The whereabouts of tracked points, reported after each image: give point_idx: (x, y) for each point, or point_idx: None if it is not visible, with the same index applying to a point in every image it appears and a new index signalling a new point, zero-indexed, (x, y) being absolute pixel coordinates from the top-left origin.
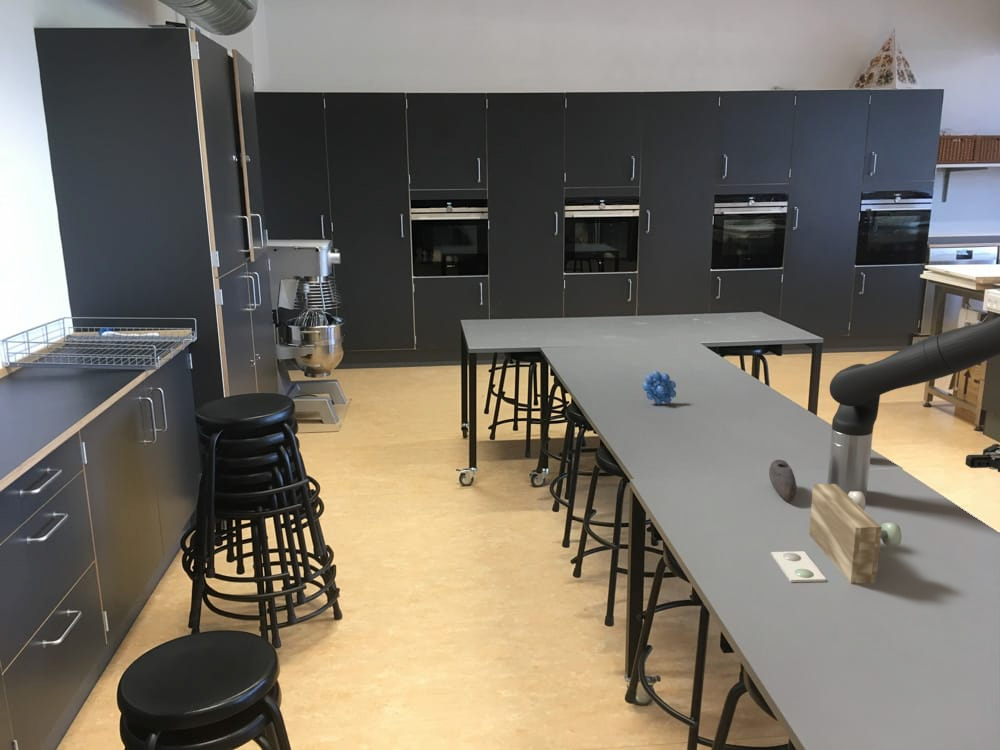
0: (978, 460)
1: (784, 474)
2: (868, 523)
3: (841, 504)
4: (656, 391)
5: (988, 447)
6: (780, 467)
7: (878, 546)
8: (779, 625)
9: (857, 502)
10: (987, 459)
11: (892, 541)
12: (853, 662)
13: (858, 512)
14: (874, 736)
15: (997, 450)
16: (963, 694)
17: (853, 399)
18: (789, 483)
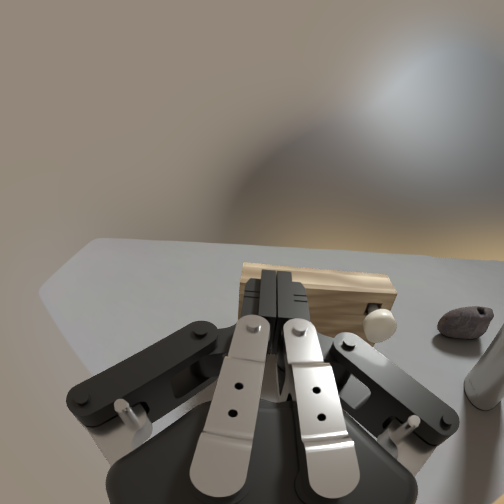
0: (245, 283)
1: (463, 308)
2: (254, 275)
3: (321, 275)
4: None
5: (396, 368)
6: (475, 307)
7: (239, 306)
8: (186, 259)
9: (366, 318)
10: (251, 312)
11: None
12: (126, 273)
13: (293, 280)
14: (77, 255)
15: (321, 363)
16: (63, 304)
17: None
18: (449, 313)
